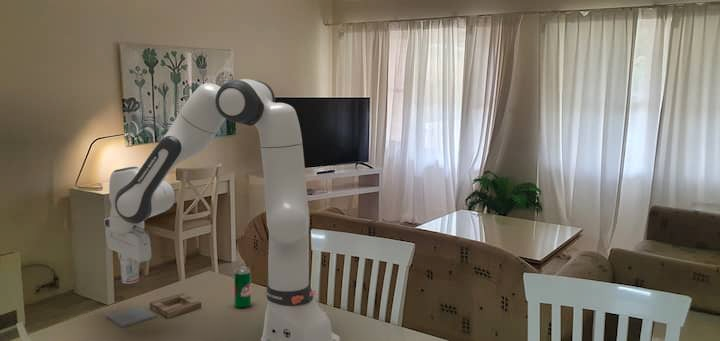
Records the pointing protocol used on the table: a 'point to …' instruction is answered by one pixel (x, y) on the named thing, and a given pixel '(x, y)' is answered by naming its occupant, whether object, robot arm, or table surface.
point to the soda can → (242, 287)
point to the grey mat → (131, 316)
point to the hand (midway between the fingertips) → (129, 269)
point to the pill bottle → (127, 271)
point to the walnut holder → (168, 312)
